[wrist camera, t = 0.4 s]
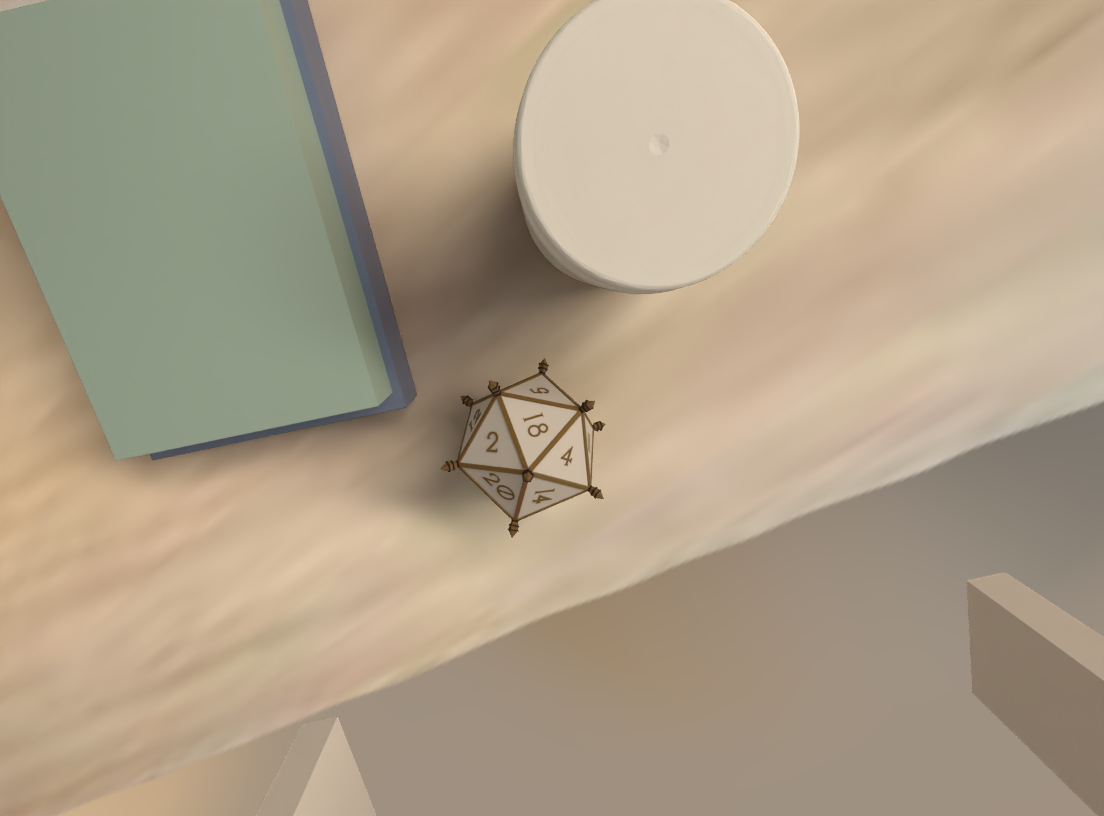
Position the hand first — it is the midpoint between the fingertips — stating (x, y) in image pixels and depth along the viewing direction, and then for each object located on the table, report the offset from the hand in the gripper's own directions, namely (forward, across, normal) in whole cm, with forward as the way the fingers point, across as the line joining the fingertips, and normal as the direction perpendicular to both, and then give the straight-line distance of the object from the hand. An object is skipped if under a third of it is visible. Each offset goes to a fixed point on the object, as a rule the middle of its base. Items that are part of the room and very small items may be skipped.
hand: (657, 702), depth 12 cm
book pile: (+24, -17, +14) cm, 33 cm away
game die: (+25, -3, 0) cm, 25 cm away
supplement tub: (+24, +4, +12) cm, 28 cm away
